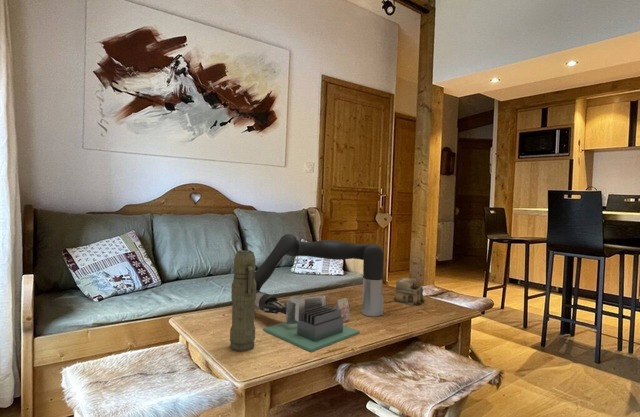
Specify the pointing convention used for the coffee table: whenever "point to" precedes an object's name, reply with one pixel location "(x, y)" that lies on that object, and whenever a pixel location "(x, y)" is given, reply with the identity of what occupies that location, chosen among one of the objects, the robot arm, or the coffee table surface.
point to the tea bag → (343, 308)
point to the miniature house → (408, 292)
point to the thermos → (243, 302)
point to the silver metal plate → (309, 304)
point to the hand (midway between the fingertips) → (289, 312)
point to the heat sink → (312, 327)
